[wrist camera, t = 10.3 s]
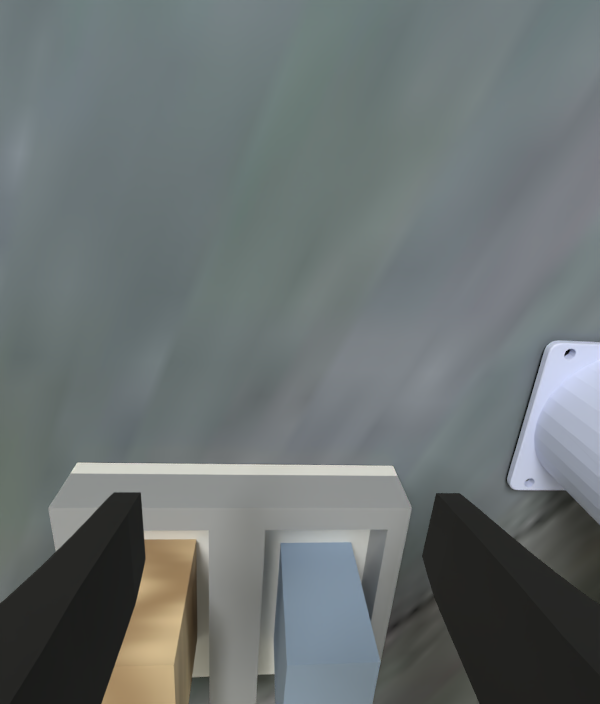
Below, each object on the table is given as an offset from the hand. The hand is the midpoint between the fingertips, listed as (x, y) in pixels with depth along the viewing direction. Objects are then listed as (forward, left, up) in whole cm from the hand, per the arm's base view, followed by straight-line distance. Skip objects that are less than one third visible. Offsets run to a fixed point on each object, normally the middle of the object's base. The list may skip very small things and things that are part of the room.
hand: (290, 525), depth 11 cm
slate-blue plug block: (-2, +13, -9) cm, 15 cm away
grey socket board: (+2, +12, -9) cm, 15 cm away
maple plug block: (+5, +12, -9) cm, 16 cm away
